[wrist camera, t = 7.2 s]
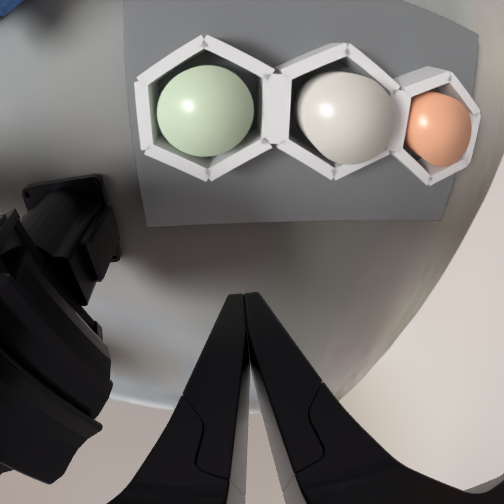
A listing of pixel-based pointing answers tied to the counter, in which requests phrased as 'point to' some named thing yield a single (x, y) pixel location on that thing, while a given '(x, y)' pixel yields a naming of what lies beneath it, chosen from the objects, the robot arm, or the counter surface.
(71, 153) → the counter surface
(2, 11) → the grapes
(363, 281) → the counter surface
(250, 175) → the button panel
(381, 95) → the grey button
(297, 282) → the counter surface
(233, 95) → the sage button
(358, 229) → the counter surface
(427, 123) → the terracotta button
